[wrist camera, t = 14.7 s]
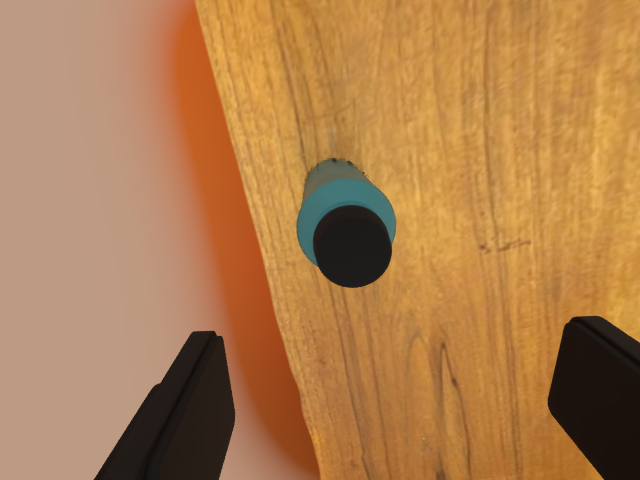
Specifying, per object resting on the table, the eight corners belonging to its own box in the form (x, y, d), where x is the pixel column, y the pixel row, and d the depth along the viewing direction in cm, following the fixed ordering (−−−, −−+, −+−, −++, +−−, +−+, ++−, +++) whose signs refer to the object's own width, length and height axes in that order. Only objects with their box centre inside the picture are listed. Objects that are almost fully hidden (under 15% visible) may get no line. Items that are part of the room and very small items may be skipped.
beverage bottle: (309, 221, 36) (301, 325, 18) (297, 159, 34) (274, 203, 15) (368, 211, 36) (425, 305, 17) (360, 148, 34) (415, 179, 15)
